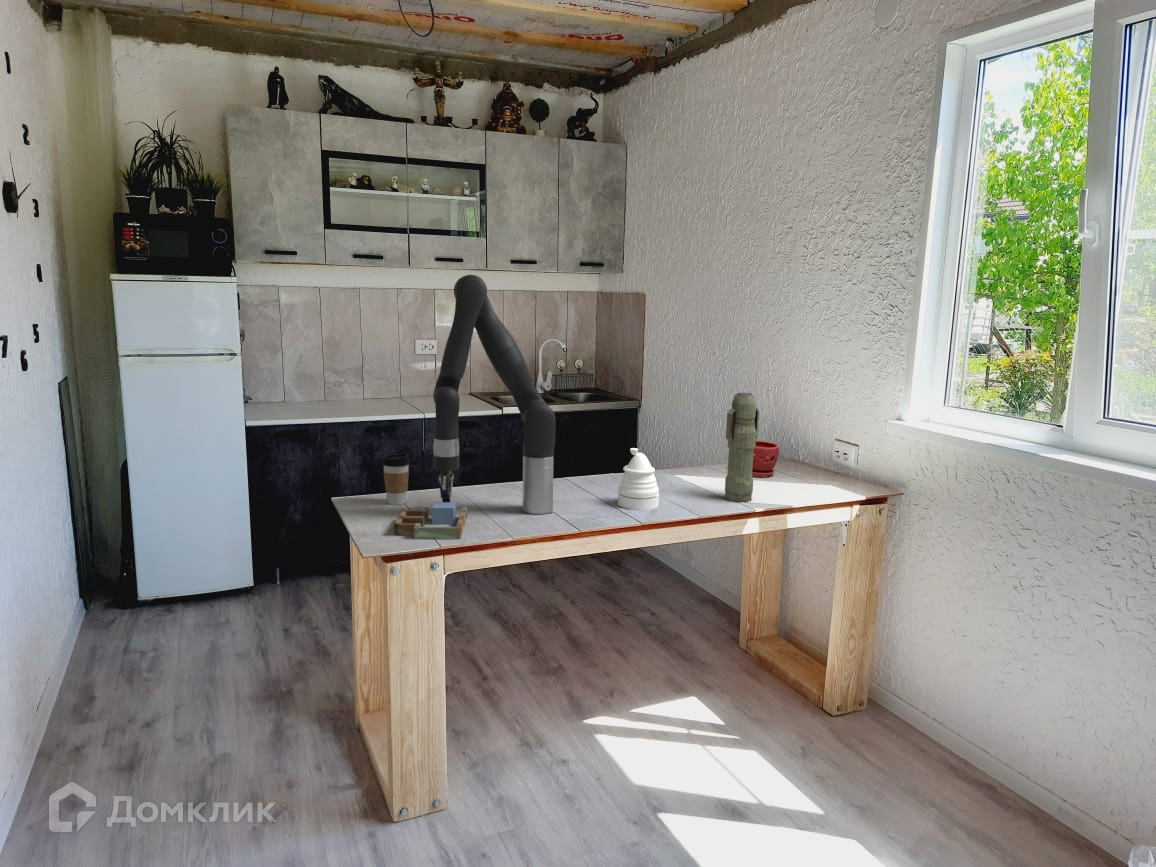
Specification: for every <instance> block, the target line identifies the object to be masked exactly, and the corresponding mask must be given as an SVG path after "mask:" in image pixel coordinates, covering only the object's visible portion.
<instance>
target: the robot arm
mask: <svg viewBox="0 0 1156 867" xmlns="http://www.w3.org/2000/svg"><path fill="white" fill-rule="evenodd" d="M453 295H454V298H455V306H454V315H453V316H454V317H453V320H452V324H451V328H450V332H449V335H448V336H447V337H448V338H447V341H446V344H445V348H444V352H443V355H442V359H441V364H440V370H439V374H438V377H437V380H436V382H435V386H434V389H433V395H432V398H433V402H434V405H435V421H434V424H433V434H434V435H433V444H432V445H433V446H432V448H433V450H432V452H433V453H432V454H433V456H432V458H433V459H432V461H433V462H432V463H433V466H432V467H433V469H434V470H435V471H437V472H438V471H440V472H441V473H440V474H439V475H438V482H439V486H438V487H439V493H440V499H441V500H442V501H441V502H451V497H452V492H453V491H452V490H453V488H454V485H453V484H454V483H453V482H454V481H453V480H454V477H455V476H454V473H452V472H454V471H457V470H458V469H459V468H460V441H459V415H460V404H461V403H460V401H461V400H460V395H459V389H460V384H461V381H462V380H461V379H462V378H463V377H464V375H465V371H466V368H467V363H468V359H469V355H470V354H469V353H470V349H471V343H472V339H473V334H474V330H475V331H476V334H477V336H478V338H479V340H480V343H481V345H482V348H483V350H484V352H485V355H486V356H487V358H488V360H489V362H490V363H491V365H492V367H493V369H494V371H495V373H496V374H497V376H498V377H499V379H500V380H501V381H502V383H503V384H504V386H505V387H506V388H507V390H508V391H509V392H510V393H509V394H511V396H512V398H513V400H514V401H515V404H516V406H517V409H518V411H519V414H520V416H521V420H522V421H523V424H524V437H523V438H524V440H523V441H524V442H523V446H522V505H521V506H522V511H523V512H524V513H527V514H532V515H537V514H538V515H544V514H548V513H553V512H554V450H555V446H556V429H557V428H556V427H557V425H556V423H557V421H556V414H555V411H554V410H553V409H552V408H551V407H550V406H549V404H548V403H547V402H546V401H545V400H544V398H543V397H542V395H541V394H540V392H539V391H538V389H537V388H536V386H535V384H534V382H533V379H532V376H531V374H530V370H529V368H528V364H527V362H526V361H525V358H524V355H523V354H522V352H521V350H520V348H519V346H518V344H517V342H516V341H515V339H514V338H513V336H512V334H511V333H510V332H509V330H508V328H507V327H506V326H505V324H503V322H502V321H501V319H500V317H499V316H498V315H497V313H496V312H495V310H494V308H493V306H492V303H491V301H490V299H489V296H488V287H487V284H486V282H485V281H484V280H483V279H482V277H480V276H478V275H476V274H467V275H466V274H465V275H463V276H461V277H460V278H457V281H456V282H455V284H454V286H453Z"/></svg>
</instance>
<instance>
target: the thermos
mask: <svg viewBox="0 0 1156 867" xmlns="http://www.w3.org/2000/svg"><path fill="white" fill-rule="evenodd" d="M755 398H756V396H755V395H754V394H752V393H749V392H737V393H735V394H734V396H733V399H732V401H731V408H729V409H728V411H727V413H726V429H725V430H726V431H725V438H726V440H727V447H728V460H727V474H726V476H725V479H724V480H725V481H724V482H725V483H724V492H725V495H724V499H725V501H728V500H729V501H728V502H732V501H733V502H732V503H739V502H744V503H749V502H748V501H750V502H751V501H752V497H753V496H752V494H753V493H754V488H753V487H754V479H753V476H752V467H753V456H754V454H753V451H754V449H755V444H756V441H757V439H758V437H759V436H758V435H759V423H760V422H759V421H760V410H759V408H758V407H757V401H756V399H755Z"/></svg>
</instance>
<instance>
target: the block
mask: <svg viewBox="0 0 1156 867" xmlns="http://www.w3.org/2000/svg"><path fill="white" fill-rule="evenodd" d="M431 509H432V510H431V511H432V512H431V513H432V514H431V518H432V520H431V521H432V522H431V524H432V525H434V526H436V525H437V526H438V525H439V524H440V525H441V524H442V525H444V526H445V525H455V522H456V519H457V518H456V517H457V516H456V502H455V501H454V502H453V501H452V502H451V501H450V502H442V501H441V502H439V501H435V502H434V504H433V505H432V507H431Z"/></svg>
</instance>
